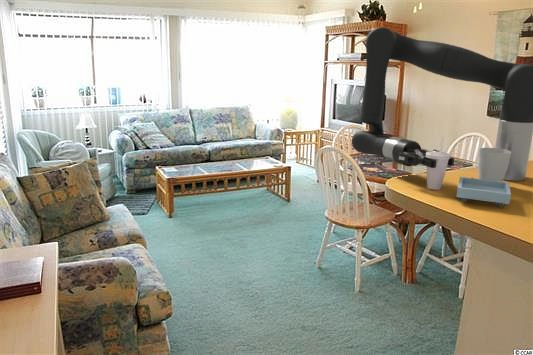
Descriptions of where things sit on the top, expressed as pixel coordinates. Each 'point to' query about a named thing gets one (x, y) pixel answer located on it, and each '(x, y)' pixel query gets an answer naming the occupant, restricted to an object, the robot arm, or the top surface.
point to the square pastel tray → (484, 190)
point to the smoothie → (437, 168)
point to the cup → (493, 163)
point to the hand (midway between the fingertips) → (444, 163)
